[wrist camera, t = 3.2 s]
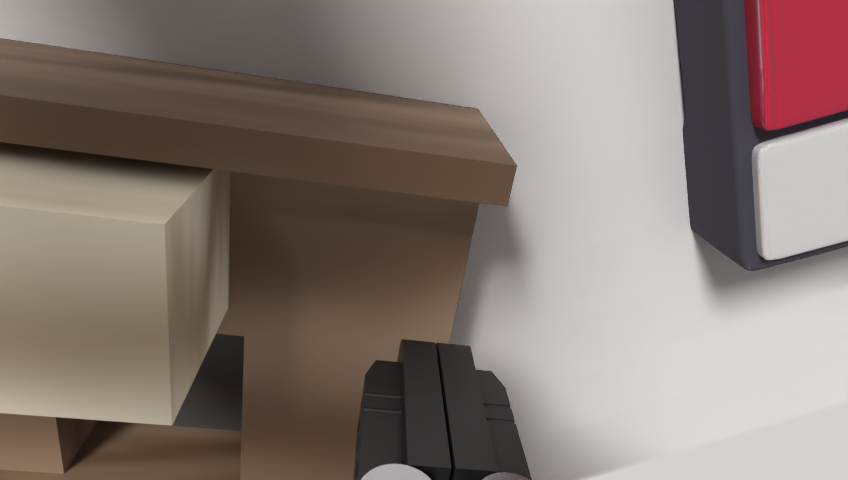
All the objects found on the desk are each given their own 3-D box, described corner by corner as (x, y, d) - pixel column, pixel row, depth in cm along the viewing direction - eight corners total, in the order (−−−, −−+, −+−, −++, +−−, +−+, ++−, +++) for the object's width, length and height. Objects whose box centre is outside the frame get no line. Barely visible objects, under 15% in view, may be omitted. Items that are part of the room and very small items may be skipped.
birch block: (32, 124, 15) (-128, 191, 10) (230, 150, 15) (164, 224, 11) (54, 290, 17) (-70, 408, 12) (228, 307, 17) (172, 425, 13)
